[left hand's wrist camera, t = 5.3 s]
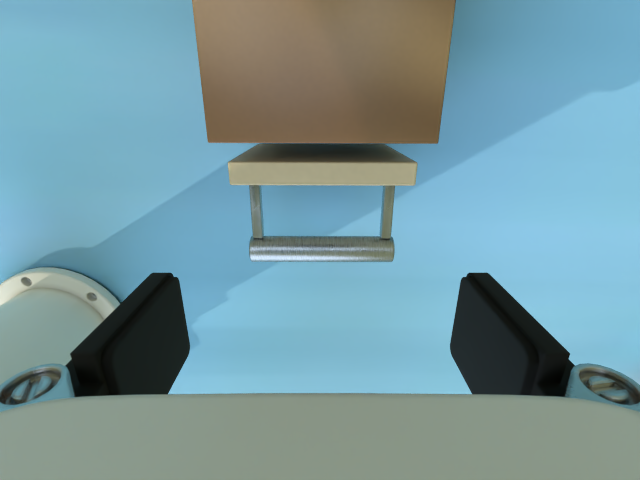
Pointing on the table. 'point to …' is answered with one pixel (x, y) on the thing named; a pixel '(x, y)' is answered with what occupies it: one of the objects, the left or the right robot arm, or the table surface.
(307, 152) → the drawer
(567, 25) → the table surface
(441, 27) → the cabinet
